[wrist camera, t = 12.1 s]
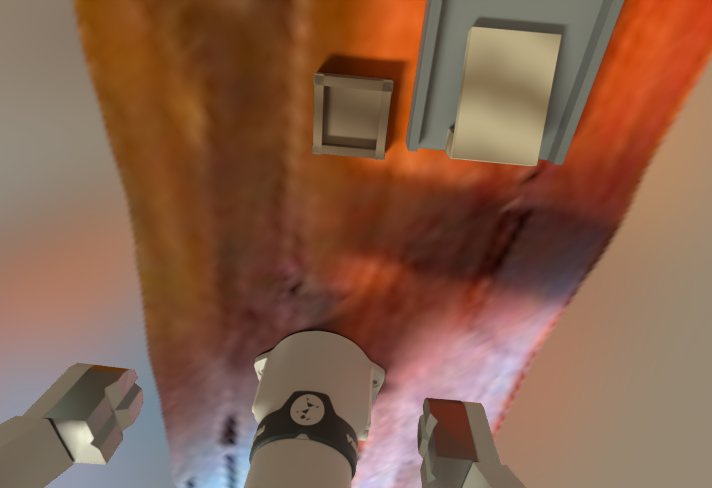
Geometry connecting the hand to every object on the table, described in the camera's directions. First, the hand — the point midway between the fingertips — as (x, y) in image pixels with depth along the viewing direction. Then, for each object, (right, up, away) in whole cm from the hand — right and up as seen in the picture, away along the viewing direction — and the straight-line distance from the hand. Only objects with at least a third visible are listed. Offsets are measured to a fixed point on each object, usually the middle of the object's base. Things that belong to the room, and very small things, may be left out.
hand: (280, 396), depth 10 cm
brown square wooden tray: (+2, +17, +24) cm, 29 cm away
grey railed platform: (+15, +20, +21) cm, 33 cm away
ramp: (+14, +17, +21) cm, 30 cm away
